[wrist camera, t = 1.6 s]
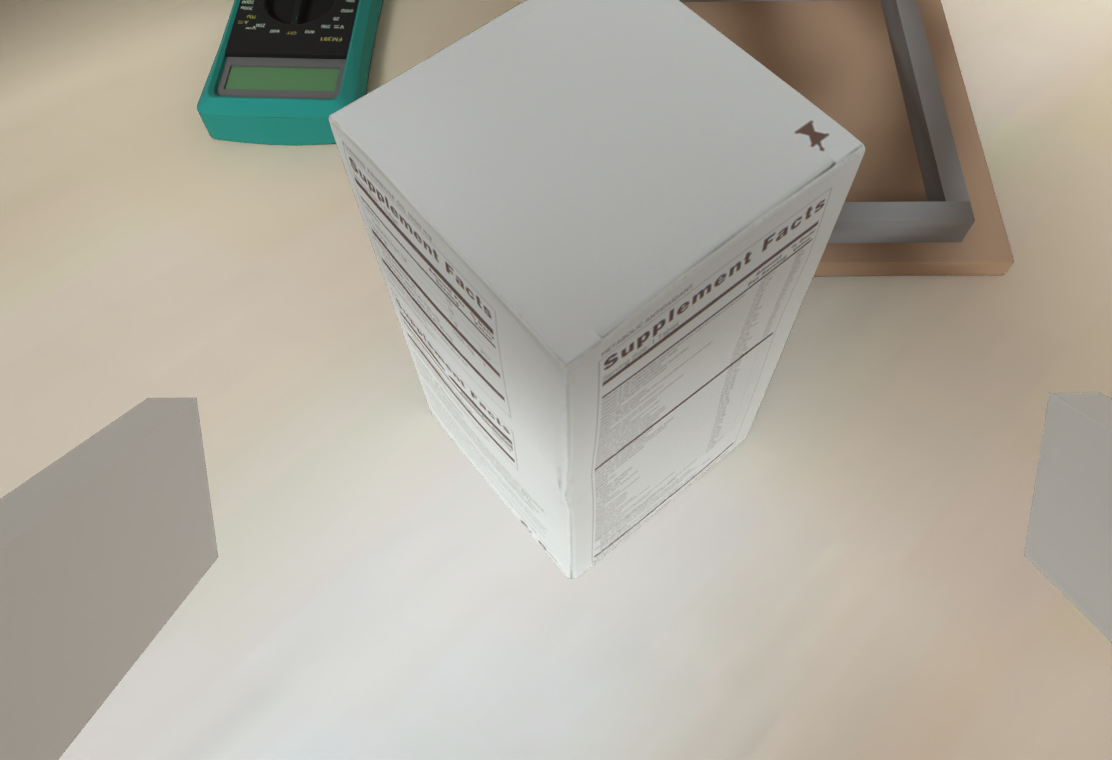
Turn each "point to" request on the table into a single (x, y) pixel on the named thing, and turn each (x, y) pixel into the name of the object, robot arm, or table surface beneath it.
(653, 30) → the supplement box
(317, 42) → the digital multimeter
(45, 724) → the robot arm
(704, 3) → the carrier plate
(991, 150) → the table surface
